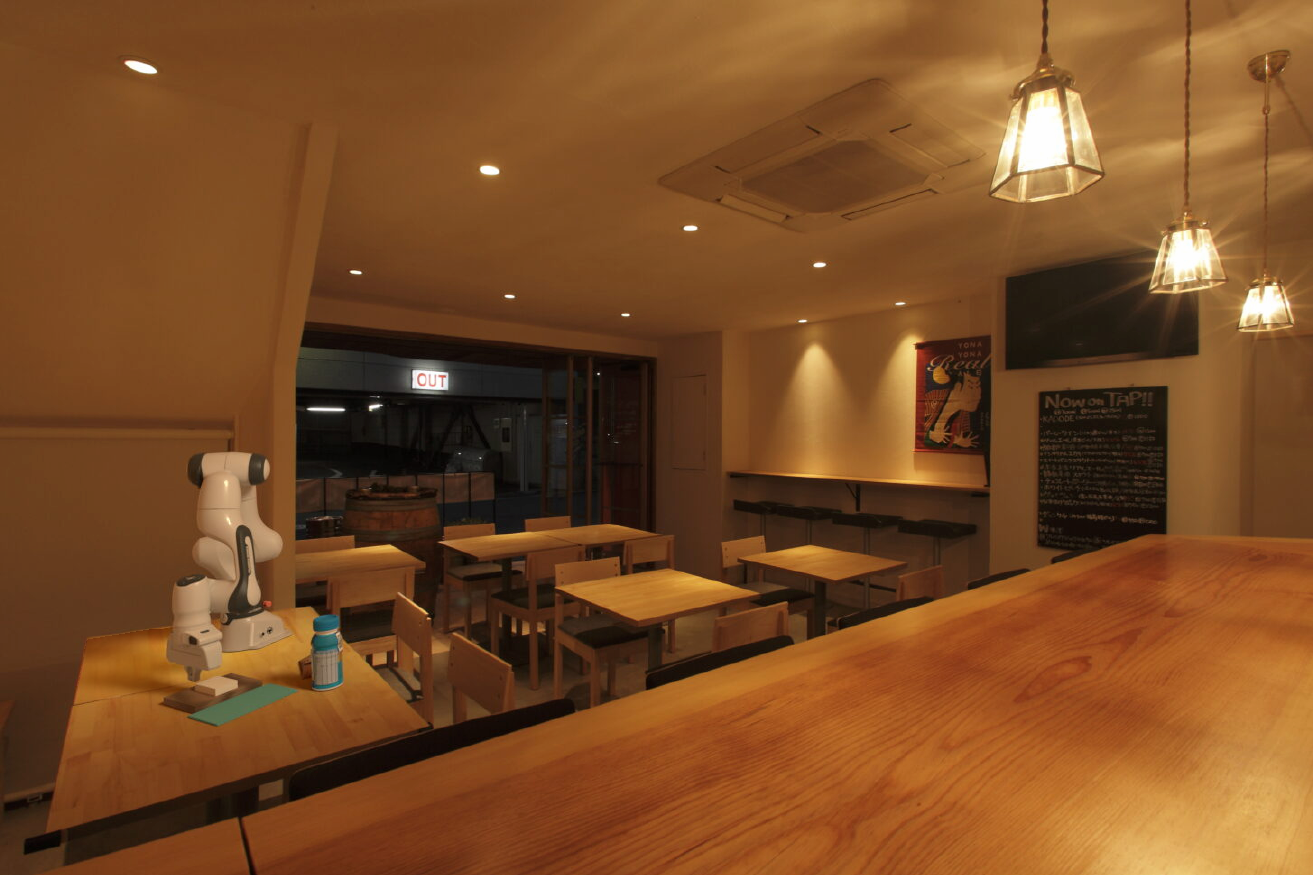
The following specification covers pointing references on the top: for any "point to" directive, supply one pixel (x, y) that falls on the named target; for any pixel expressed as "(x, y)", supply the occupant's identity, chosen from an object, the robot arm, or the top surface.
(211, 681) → the tile
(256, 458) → the robot arm
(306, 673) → the sunglasses case
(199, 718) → the mat
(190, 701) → the brown wooden board
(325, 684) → the beverage bottle
